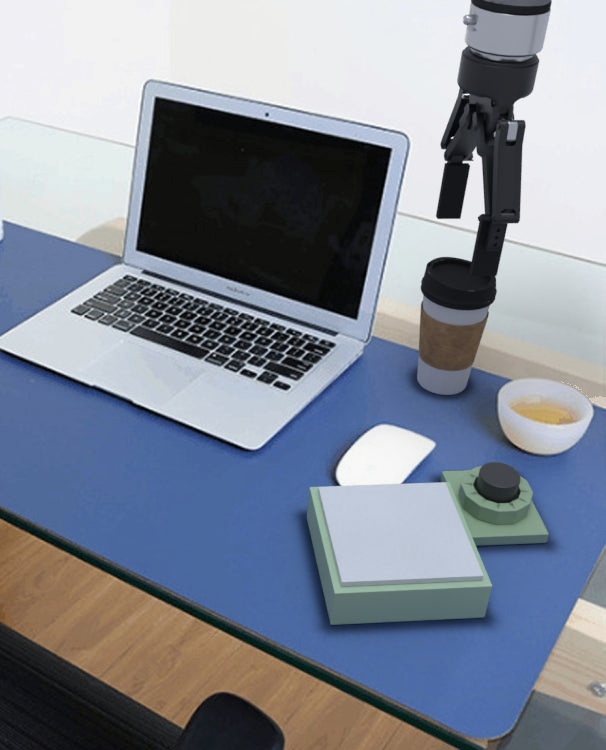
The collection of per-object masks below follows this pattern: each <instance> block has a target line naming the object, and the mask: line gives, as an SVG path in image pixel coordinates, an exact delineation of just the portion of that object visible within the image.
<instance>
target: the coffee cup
mask: <svg viewBox="0 0 606 750" xmlns="http://www.w3.org/2000/svg"><path fill="white" fill-rule="evenodd" d="M471 262H472V260H468V259H464V258H460V257H454V256H440V257H439V256H438V257H436V258H433V259H431V260H429V261H428V262H427V263H426V266H425V267H426V268H425V270H424V274H423V277H422V278H421V281H420V283H421V284H420V292H421V293H422V295H423V298H422V300H421V302H420V315H419V334H418V335H419V337H418V361H417V372H416V373H417V374H416V379H417V382H418V384H419V385H420V387H422V388H423V389H424V390H426V391H428V392H430V393H432V394H435V395H440V396H452V395H457V394H459V393H461V392H463V391H464V390H465V389H466V387H467V385H468V382H469V379H470V375H471V371H472V368H473V365H474V362H475V360H476V356H477V353H478V350H479V347H480V345H481V340H482V338H483V334H484V333H485V332H484V331H485V328H486V325H487V322H488V319H489V316H490V312H489V309H490V306H491V305H492V304H493V303H494V302H495V300H496V296H497V294H498V290H497V276H471V274H470V273H469V272H470V267H471Z"/></svg>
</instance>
